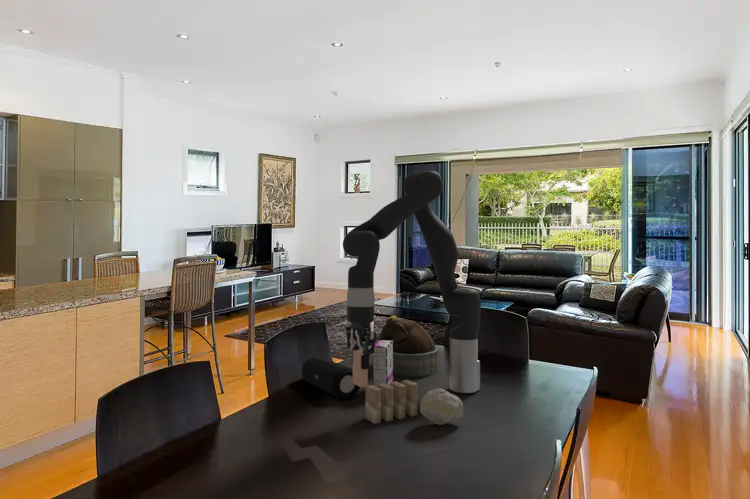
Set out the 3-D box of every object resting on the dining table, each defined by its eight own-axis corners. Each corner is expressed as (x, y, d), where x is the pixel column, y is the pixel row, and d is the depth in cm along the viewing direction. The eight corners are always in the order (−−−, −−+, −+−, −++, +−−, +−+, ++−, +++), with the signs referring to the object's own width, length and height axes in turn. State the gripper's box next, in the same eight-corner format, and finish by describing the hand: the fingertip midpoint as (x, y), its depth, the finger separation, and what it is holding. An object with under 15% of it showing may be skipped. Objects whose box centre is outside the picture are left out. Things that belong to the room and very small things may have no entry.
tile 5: (359, 382, 135) (359, 349, 135) (367, 386, 131) (367, 352, 131) (352, 383, 134) (352, 350, 134) (360, 387, 130) (361, 353, 130)
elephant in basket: (372, 367, 197) (372, 313, 197) (432, 366, 200) (432, 312, 200) (378, 382, 174) (378, 321, 174) (446, 380, 177) (447, 320, 177)
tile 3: (384, 415, 139) (384, 383, 139) (393, 420, 135) (393, 387, 135) (377, 416, 138) (378, 384, 138) (386, 421, 134) (387, 388, 134)
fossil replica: (458, 419, 135) (458, 383, 135) (469, 430, 127) (469, 391, 127) (416, 421, 133) (416, 385, 133) (424, 432, 125) (425, 393, 125)
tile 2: (395, 412, 141) (396, 381, 141) (405, 417, 137) (405, 385, 137) (390, 413, 140) (390, 382, 140) (399, 419, 136) (399, 386, 136)
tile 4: (371, 417, 137) (371, 385, 137) (380, 422, 133) (380, 389, 133) (365, 418, 136) (365, 386, 136) (374, 423, 132) (374, 390, 132)
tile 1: (407, 410, 143) (407, 379, 143) (417, 415, 139) (417, 383, 139) (401, 411, 142) (401, 380, 142) (411, 416, 138) (411, 384, 138)
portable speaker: (299, 385, 170) (299, 356, 171) (324, 381, 176) (324, 353, 176) (335, 403, 150) (336, 371, 150) (362, 398, 155) (363, 367, 155)
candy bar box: (379, 387, 167) (379, 339, 168) (393, 388, 166) (393, 340, 167) (372, 397, 156) (372, 345, 157) (387, 398, 155) (387, 346, 156)
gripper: (385, 306, 128) (385, 370, 128) (360, 301, 141) (360, 360, 141) (360, 307, 125) (360, 374, 124) (337, 302, 137) (336, 363, 137)
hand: (360, 366), depth 133 cm, fingers closed on tile 5, 5 cm apart
